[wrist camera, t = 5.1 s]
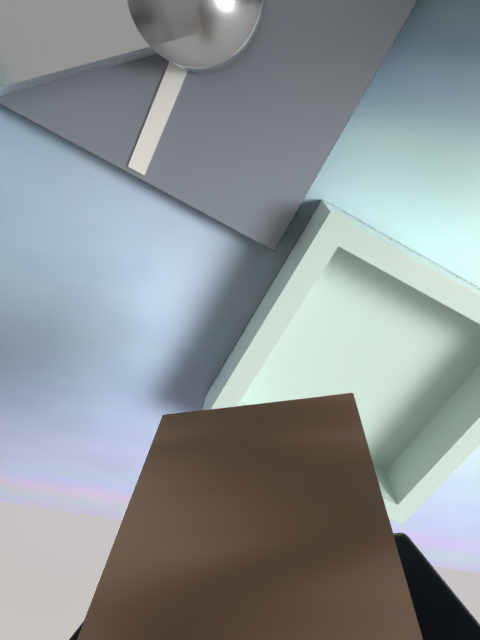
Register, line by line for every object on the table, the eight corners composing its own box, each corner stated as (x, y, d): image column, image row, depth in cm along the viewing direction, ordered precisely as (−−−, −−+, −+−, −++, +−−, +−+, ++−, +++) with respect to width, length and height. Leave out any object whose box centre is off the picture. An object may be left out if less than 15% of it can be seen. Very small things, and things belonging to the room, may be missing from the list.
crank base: (106, -341, 11) (93, -378, 10) (464, -89, 13) (477, -104, 12) (-6, 95, 15) (-21, 93, 15) (273, 245, 17) (273, 251, 16)
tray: (321, 199, 16) (330, 211, 14) (533, 318, 17) (572, 347, 15) (206, 394, 20) (197, 430, 17) (387, 481, 21) (402, 524, 19)
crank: (250, -91, 12) (236, -234, 7) (274, 57, 14) (276, 20, 9) (-137, 27, 14) (-354, -25, 9) (-81, 148, 15) (-243, 159, 10)
